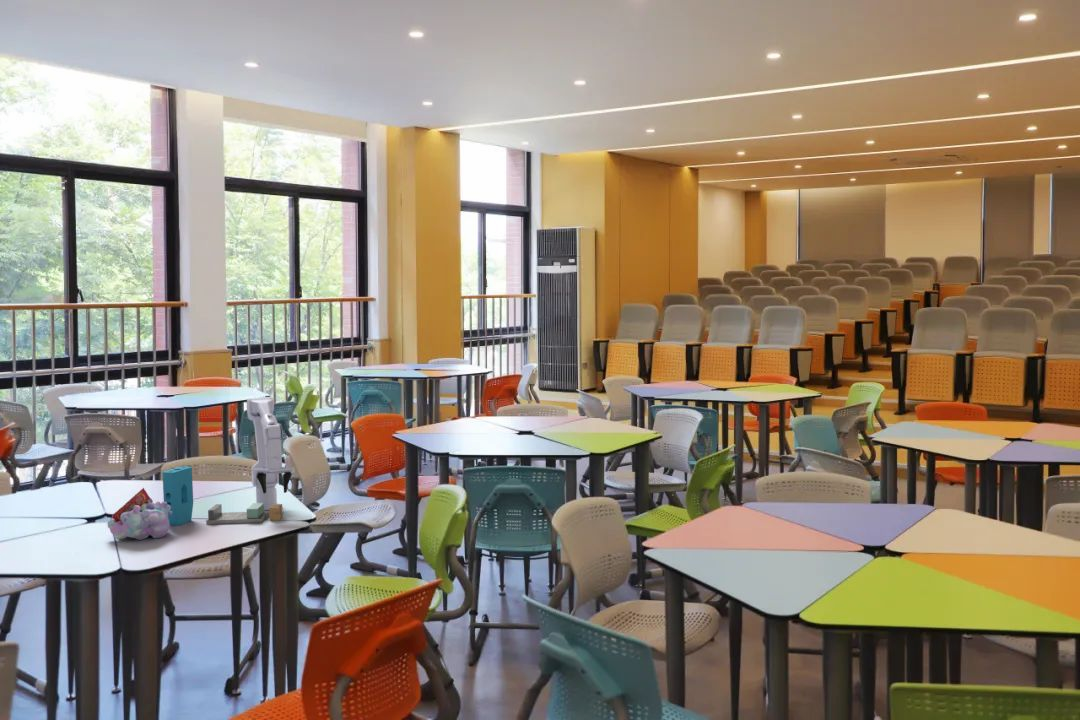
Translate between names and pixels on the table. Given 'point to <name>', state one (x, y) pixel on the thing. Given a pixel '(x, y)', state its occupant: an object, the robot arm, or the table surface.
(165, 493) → the block
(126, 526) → the lumpy lavender blob
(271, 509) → the walnut block
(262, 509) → the block
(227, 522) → the vise
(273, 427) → the robot arm
